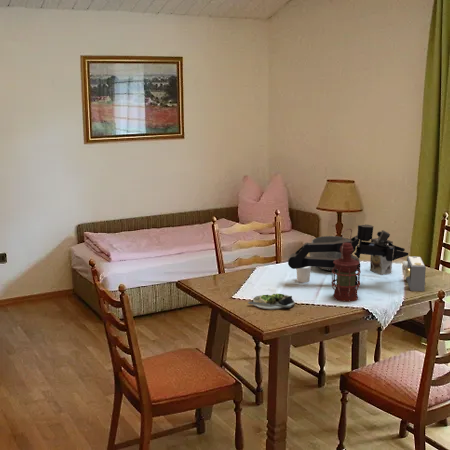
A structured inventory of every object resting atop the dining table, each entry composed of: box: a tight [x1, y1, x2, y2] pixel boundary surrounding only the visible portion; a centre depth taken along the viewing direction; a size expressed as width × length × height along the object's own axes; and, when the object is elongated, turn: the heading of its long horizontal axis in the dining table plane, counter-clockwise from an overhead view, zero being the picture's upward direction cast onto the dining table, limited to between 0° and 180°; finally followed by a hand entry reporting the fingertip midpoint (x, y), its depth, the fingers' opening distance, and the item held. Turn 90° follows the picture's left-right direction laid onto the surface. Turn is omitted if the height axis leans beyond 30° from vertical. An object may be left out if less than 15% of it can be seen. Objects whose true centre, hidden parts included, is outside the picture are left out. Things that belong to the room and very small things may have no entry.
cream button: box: [402, 260, 408, 271], centre depth 291 cm, size 3×4×4 cm
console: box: [405, 256, 426, 292], centre depth 285 cm, size 6×18×12 cm, turn 170°
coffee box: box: [369, 237, 394, 276], centre depth 307 cm, size 9×6×16 cm
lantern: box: [331, 228, 362, 303], centre depth 267 cm, size 12×12×30 cm
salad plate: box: [247, 293, 295, 310], centre depth 263 cm, size 19×18×5 cm
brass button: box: [404, 268, 411, 278], centre depth 280 cm, size 3×4×4 cm
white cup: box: [296, 266, 312, 284], centre depth 295 cm, size 7×7×7 cm
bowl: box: [308, 235, 346, 272], centre depth 314 cm, size 20×20×15 cm
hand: (406, 251), depth 280 cm, fingers open, 9 cm apart
